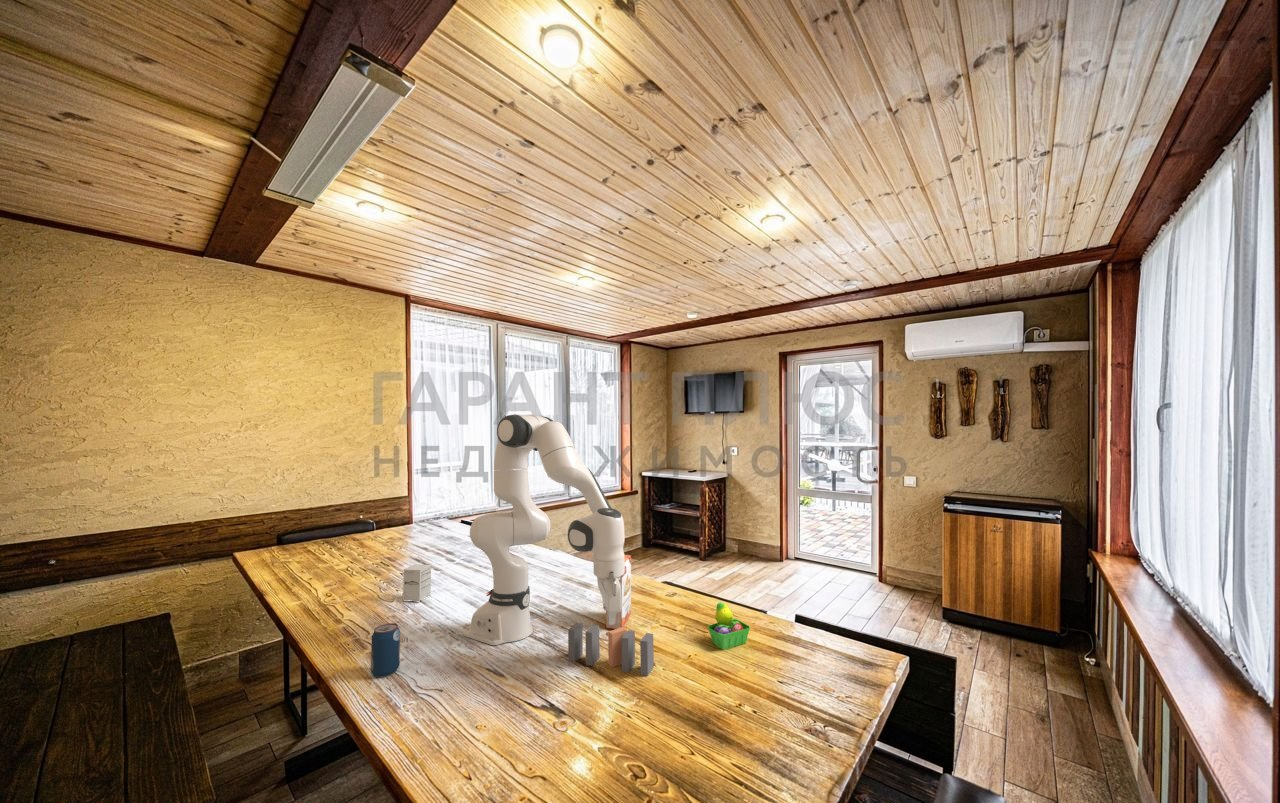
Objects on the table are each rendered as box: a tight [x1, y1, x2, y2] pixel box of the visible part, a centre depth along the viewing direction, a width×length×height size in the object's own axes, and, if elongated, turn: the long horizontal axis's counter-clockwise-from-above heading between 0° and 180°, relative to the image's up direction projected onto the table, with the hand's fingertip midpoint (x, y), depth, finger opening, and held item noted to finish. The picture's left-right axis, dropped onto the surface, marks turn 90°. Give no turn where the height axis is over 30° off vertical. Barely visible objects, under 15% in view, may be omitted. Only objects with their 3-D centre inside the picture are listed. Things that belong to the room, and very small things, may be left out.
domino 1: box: [567, 621, 584, 664], centre depth 135 cm, size 2×5×9 cm, turn 160°
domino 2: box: [585, 624, 601, 667], centre depth 133 cm, size 2×5×9 cm, turn 161°
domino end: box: [639, 632, 655, 677], centre depth 127 cm, size 2×5×9 cm, turn 160°
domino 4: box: [621, 629, 636, 674], centre depth 129 cm, size 2×5×9 cm, turn 160°
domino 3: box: [607, 626, 628, 668], centre depth 132 cm, size 2×5×9 cm, turn 127°
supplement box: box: [402, 563, 432, 601], centre depth 183 cm, size 7×7×13 cm
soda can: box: [370, 622, 401, 679], centre depth 128 cm, size 7×7×12 cm
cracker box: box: [605, 554, 632, 630], centre depth 161 cm, size 14×6×21 cm, turn 168°
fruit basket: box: [707, 602, 751, 651], centre depth 143 cm, size 11×9×11 cm
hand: (608, 616), depth 132 cm, fingers open, 8 cm apart
